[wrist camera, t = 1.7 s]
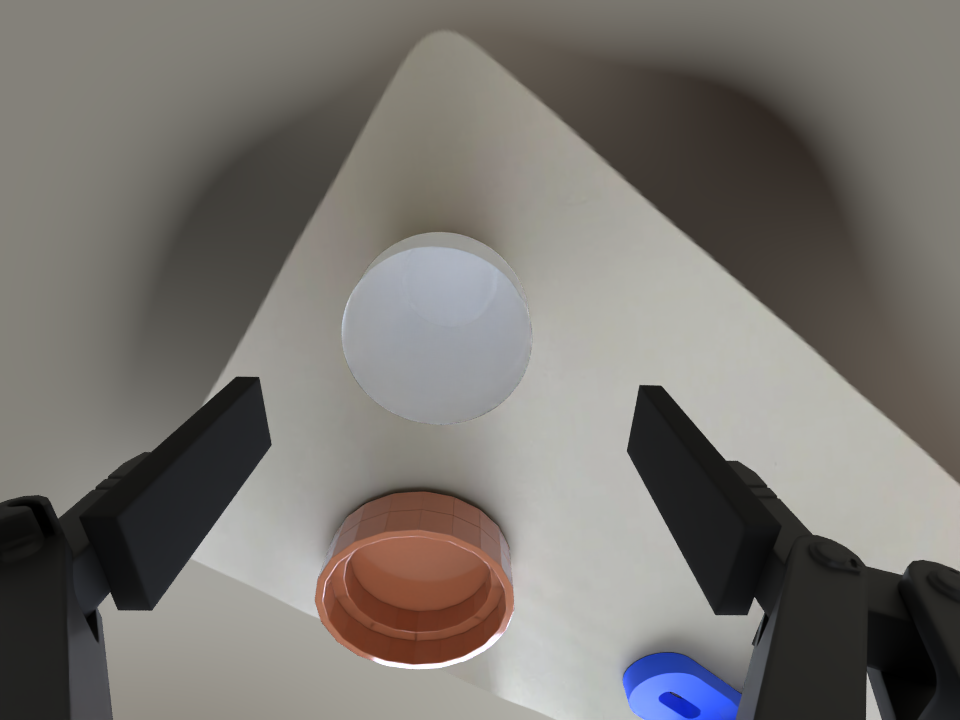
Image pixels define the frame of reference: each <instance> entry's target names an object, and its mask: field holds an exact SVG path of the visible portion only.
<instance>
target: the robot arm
mask: <svg viewBox="0 0 960 720" xmlns="http://www.w3.org/2000/svg"><path fill="white" fill-rule="evenodd" d="M271 445H272V444H271V439H270V433H269V428H268V422H267V417H266V412H265V406H264V401H263V395H262V390H261V384H260V379H259V377H235V378H234V379H233V380H232V381H231V382H230V383H229V384H228V385H226V386H225V387H224V388H223V389H222V390H221V391H220V392H219V393H217V394H216V395H215V396H214V397H213V398H212V399H211V400H210V401H208V402H207V403H206V404H205V405H204V406H203V407H202V408H201V409H199V410H198V411H197V412H196V413H195V414H194V415H193V416H192V417H190V418H189V419H188V420H187V421H186V422H185V423H184V424H183V425H181V426H180V427H179V428H178V429H177V430H176V431H175V432H174V433H172V434H171V435H170V436H169V437H168V438H167V439H166V440H165V441H163V442H162V443H161V444H160V445H159V446H158V447H157V448H156V449H154V450H153V451H152V452H144V453H142V454H140V455H138V456H136V457H134V458H133V459H131V460H129V461H127V462H125V463H123V464H122V465H121V466H120V467H119V468H118V469H117V470H115V471H114V472H113V473H112V474H110V475H109V476H108V479H105V480H103V481H102V482H101V483H100V484H99V485H97V486H96V489H95V490H92V491H91V492H89V493H88V494H87V495H86V496H85V497H83V498H82V499H81V500H80V501H79V502H77V503H76V504H75V505H74V506H73V507H72V508H70V509H69V510H68V511H67V512H66V513H65V514H63V515H62V516H61V517H60V518H59V519H58V518H57V516H56V514H55V511H54V509H53V507H52V505H51V503H50V501H49V499H48V498H47V497H43V496H39V495H34V496H23V497H19V498H15V499H11V500H7V501H4V502H2V503H0V720H113V716H112V708H111V698H110V689H109V680H108V670H107V661H106V652H105V643H104V634H103V625H102V617H101V615H100V613H99V610H98V608H97V607H98V606H99V604H100V603H101V602H102V601H103V600H104V598H105V597H106V596H107V595H108V594H109V593H110V592H111V594H112V597H113V600H114V602H115V604H116V607H117V609H118V610H149V611H150V610H153V608H154V607H155V606H156V604H157V603H158V602H159V600H160V599H161V597H162V596H163V594H164V593H165V592H166V590H167V589H168V588H169V586H170V585H171V584H172V582H173V581H174V579H175V578H176V577H177V575H178V574H179V572H180V571H181V570H182V568H183V567H184V566H185V564H186V563H187V561H188V560H189V559H190V557H191V556H192V555H193V553H194V552H195V550H196V549H197V548H198V546H199V545H200V543H201V542H202V541H203V539H204V538H205V537H206V535H207V534H208V532H209V531H210V530H211V528H212V527H213V525H214V524H215V523H216V521H217V520H218V519H219V517H220V516H221V514H222V513H223V512H224V510H225V509H226V507H227V506H228V505H229V503H230V502H231V501H232V499H233V498H234V496H235V495H236V494H237V492H238V491H239V489H240V488H241V487H242V485H243V484H244V483H245V481H246V480H247V478H248V477H249V476H250V474H251V473H252V471H253V470H254V469H255V467H256V466H257V465H258V463H259V462H260V460H261V459H262V458H263V456H264V455H265V454H266V452H267V451H268V449H269V448H270V447H271ZM627 452H628V454H629V456H630V458H631V460H632V462H633V463H634V465H635V467H636V469H637V471H638V473H639V475H640V476H641V478H642V480H643V482H644V484H645V486H646V488H647V489H648V491H649V493H650V495H651V497H652V499H653V500H654V502H655V504H656V506H657V508H658V510H659V512H660V513H661V515H662V517H663V519H664V521H665V523H666V524H667V526H668V528H669V530H670V532H671V534H672V536H673V537H674V539H675V541H676V543H677V545H678V547H679V549H680V550H681V552H682V554H683V556H684V558H685V560H686V561H687V563H688V565H689V567H690V569H691V571H692V573H693V574H694V576H695V578H696V580H697V582H698V584H699V585H700V587H701V589H702V591H703V593H704V595H705V597H706V598H707V600H708V602H709V604H710V606H711V608H712V610H713V611H714V613H715V615H748V612H749V609H750V607H751V604H752V602H753V599H754V597H755V598H756V600H757V601H758V603H759V604H760V606H761V607H762V609H763V610H764V612H765V613H764V615H763V618H762V620H761V622H760V625H759V627H758V630H757V632H756V635H755V637H754V639H753V642H752V645H754V650H753V653H752V657H751V661H750V665H749V669H748V673H747V677H746V680H745V684H744V688H743V692H742V696H741V700H740V704H739V707H738V711H737V715H736V719H735V720H866V680H867V673H868V676H869V680H870V683H871V686H872V689H873V692H874V696H875V699H876V702H877V705H878V708H879V712H880V715H881V718H882V720H960V572H959V571H957V570H955V569H953V568H950V567H947V566H945V565H942V564H939V563H936V562H931V561H925V560H919V561H913V562H912V563H911V564H910V565H909V566H908V567H907V569H906V571H905V572H904V574H903V575H899V574H895V573H891V572H887V571H883V570H879V569H875V568H871V567H867V566H865V564H864V563H863V562H862V561H861V560H860V558H859V557H858V556H857V555H856V554H854V553H853V552H852V551H850V550H849V549H848V548H846V547H845V546H843V545H841V544H839V543H837V542H835V541H833V540H831V539H828V538H824V537H821V536H818V535H812V533H811V532H810V531H809V530H808V529H807V528H806V527H805V526H804V525H803V524H802V523H801V522H800V520H799V519H798V518H797V517H796V516H795V515H794V514H793V513H792V512H791V511H790V510H789V509H788V507H787V506H786V505H785V504H784V503H783V502H782V501H781V500H780V499H777V496H776V494H775V493H774V492H773V491H772V490H771V489H770V488H767V485H766V484H765V483H764V481H763V480H762V479H761V478H760V477H759V476H758V475H757V474H756V473H755V472H754V471H752V470H751V469H749V468H748V467H746V466H745V465H743V464H742V463H740V462H738V461H726V460H725V459H724V458H723V457H722V456H721V454H720V453H719V452H718V451H717V450H716V449H715V447H714V446H713V445H712V444H711V443H710V442H709V441H708V439H707V438H706V437H705V436H704V435H703V434H702V432H701V431H700V430H699V429H698V428H697V427H696V425H695V424H694V423H693V422H692V421H691V420H690V418H689V417H688V416H687V415H686V414H685V413H684V411H683V410H682V409H681V408H680V407H679V406H678V404H677V403H676V402H675V401H674V400H673V399H672V397H671V396H670V395H669V394H668V393H667V392H666V391H665V389H664V388H663V387H662V386H654V385H640V386H639V391H638V396H637V401H636V406H635V412H634V417H633V422H632V427H631V432H630V437H629V443H628V448H627Z"/></svg>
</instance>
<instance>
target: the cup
mask: <svg viewBox="0 0 960 720" xmlns="http://www.w3.org/2000/svg"><path fill="white" fill-rule="evenodd" d="M342 345H343V350H344V355H345V358H346V361H347V364H348V366H349V368H350V371H351V372H352V374H353V376H354V378H355V379H356V381H357V382H358V384H359V385H360V386H361V388H362V389H363V390H364V391H365V392H366V393H367V394H368V395H369V396H370V397H371V398H372V399H373V400H374V401H375V402H376V403H378V404H379V405H381V406H382V407H383V408H385V409H387V410H388V411H390V412H392V413H394V414H396V415H398V416H400V417H403V418H405V419H408V420H412V421H415V422H420V423H426V424H440V425H442V424H454V423H460V422H464V421H468V420H471V419H474V418H477V417H479V416H481V415H484V414H485V413H487V412H489V411H491V410H492V409H494V408H495V407H497V406H498V405H499V404H501V403H502V402H503V401H504V400H505V399H506V398H507V397H508V396H509V395H510V394H511V393H512V392H513V391H514V389H515V388H516V387H517V385H518V384H519V382H520V381H521V379H522V377H523V375H524V373H525V371H526V368H527V366H528V363H529V359H530V355H531V349H532V328H531V322H530V318H529V310H528V303H527V299H526V295H525V292H524V289H523V287H522V285H521V283H520V281H519V279H518V277H517V276H516V274H515V272H514V271H513V270H512V268H511V267H510V266H509V264H508V263H507V262H506V261H505V260H504V259H503V258H502V257H501V256H500V255H499V254H498V253H497V252H495V251H494V250H492V249H491V248H490V247H488V246H487V245H485V244H483V243H481V242H479V241H477V240H475V239H473V238H470V237H467V236H465V235H461V234H457V233H450V232H429V233H423V234H418V235H414V236H411V237H408V238H406V239H403V240H401V241H399V242H397V243H395V244H393V245H392V246H390V247H389V248H387V249H386V250H384V251H383V252H382V253H381V254H380V255H378V256H377V257H376V258H375V259H374V260H373V262H372V263H371V264H370V265H369V267H368V268H367V269H366V271H365V273H364V274H363V276H362V277H361V279H360V281H359V282H358V284H357V285H356V287H355V288H354V290H353V292H352V293H351V295H350V298H349V300H348V302H347V305H346V308H345V311H344V315H343V321H342Z"/></svg>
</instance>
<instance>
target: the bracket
mask: <svg viewBox="0 0 960 720" xmlns="http://www.w3.org/2000/svg"><path fill="white" fill-rule="evenodd" d="M623 685H624V688H625V692H626V695H627V699H628V702H629V706H630V708H631V710H632V711H633V712H634V713H635V714H636V715H638V716H639V717H641V718H643V719H644V720H735V719H736V715H737V711H738V707H739V704H740V700H741V696H742V694H740V693H739V692H738V691H736V690H735V689H733V688H732V687H730V686H729V685H728V684H726V683H725V682H723V681H722V680H720V679H719V678H718V677H716V676H715V675H713V674H712V673H710V672H709V671H708V670H706V669H705V668H703V667H702V666H701V665H699V664H698V663H696V662H695V661H693V660H692V659H690V658H689V657H687V656H685V655H682V654H678V653H657V654H653V655H649V656H646V657H644V658H641V659H640V660H638V661H636V662H635V663H633V664H632V665H631V666H630V667H629V668H628V669H627V671H626V672H625V674H624V677H623ZM670 692H675V693H676V694H678V695H679V696H681V697H683V698H678V697H676V696H674V695H673V694H671V693H670Z"/></svg>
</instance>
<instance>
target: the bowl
mask: <svg viewBox="0 0 960 720" xmlns="http://www.w3.org/2000/svg"><path fill="white" fill-rule="evenodd" d="M315 603H316V607H317V610H318V613H319V616H320V619H321V622H322V624H323V625H324V626H325V627H326V628H327V630H328V631H329V632H330V633H331V635H332V636H333V637H334V638H335V639H336V641H337V642H339V643H340V644H342V645H343V646H345V647H346V648H347V649H349V650H350V651H352V652H353V653H355V654H357V655H358V656H361V657H364V658H367V659H369V660H372V661H375V662H377V663H380V664H383V665H386V666H393V667H401V668H407V669H427V668H441V667H445V666H448V665H452V664H455V663H459V662H462V661H466V660H469V659H471V658H472V657H474V656H476V655H478V654H479V653H481V652H483V651H485V650H486V649H488V648H490V647H491V646H492V645H493V644H494V643H495V642H496V641H497V640H498V638H499V637H500V636H501V635H502V634H503V633H504V632H505V631H506V629H507V627H508V624H509V622H510V619H511V617H512V614H513V611H514V596H513V583H512V572H511V562H510V551H509V546H508V544H507V542H506V540H505V538H504V536H503V534H502V532H501V530H500V528H499V527H498V526H497V525H496V524H495V523H494V522H493V521H492V520H491V519H490V518H489V517H488V516H486V515H485V514H484V513H483V512H482V511H481V510H479V509H478V508H476V507H474V506H472V505H470V504H468V503H466V502H463V501H461V500H459V499H457V498H455V497H452V496H447V495H442V494H436V493H431V492H425V491H421V492H406V493H394V494H391V495H388V496H385V497H382V498H379V499H376V500H373V501H370V502H367V503H366V504H364V505H363V506H362V507H360V508H359V509H358V510H356V511H355V512H353V513H352V514H351V515H349V516H348V517H347V518H346V519H345V520H344V522H343V523H342V525H341V526H340V528H339V529H338V531H337V533H336V534H335V536H334V537H333V540H332V542H331V545H330V548H329V550H328V553H327V556H326V558H325V561H324V564H323V566H322V569H321V572H320V574H319V577H318V580H317V587H316V595H315Z"/></svg>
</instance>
